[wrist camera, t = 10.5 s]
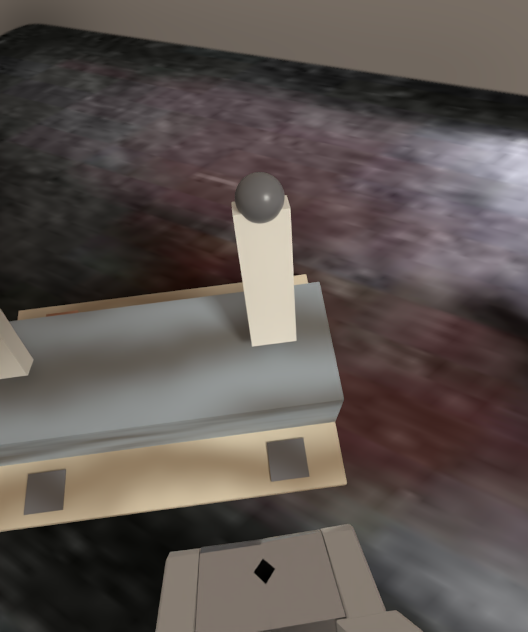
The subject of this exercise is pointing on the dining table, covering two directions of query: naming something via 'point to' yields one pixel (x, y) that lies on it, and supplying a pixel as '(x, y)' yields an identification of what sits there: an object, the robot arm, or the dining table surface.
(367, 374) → the dining table surface
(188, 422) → the switch box
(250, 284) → the lever
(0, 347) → the lever
